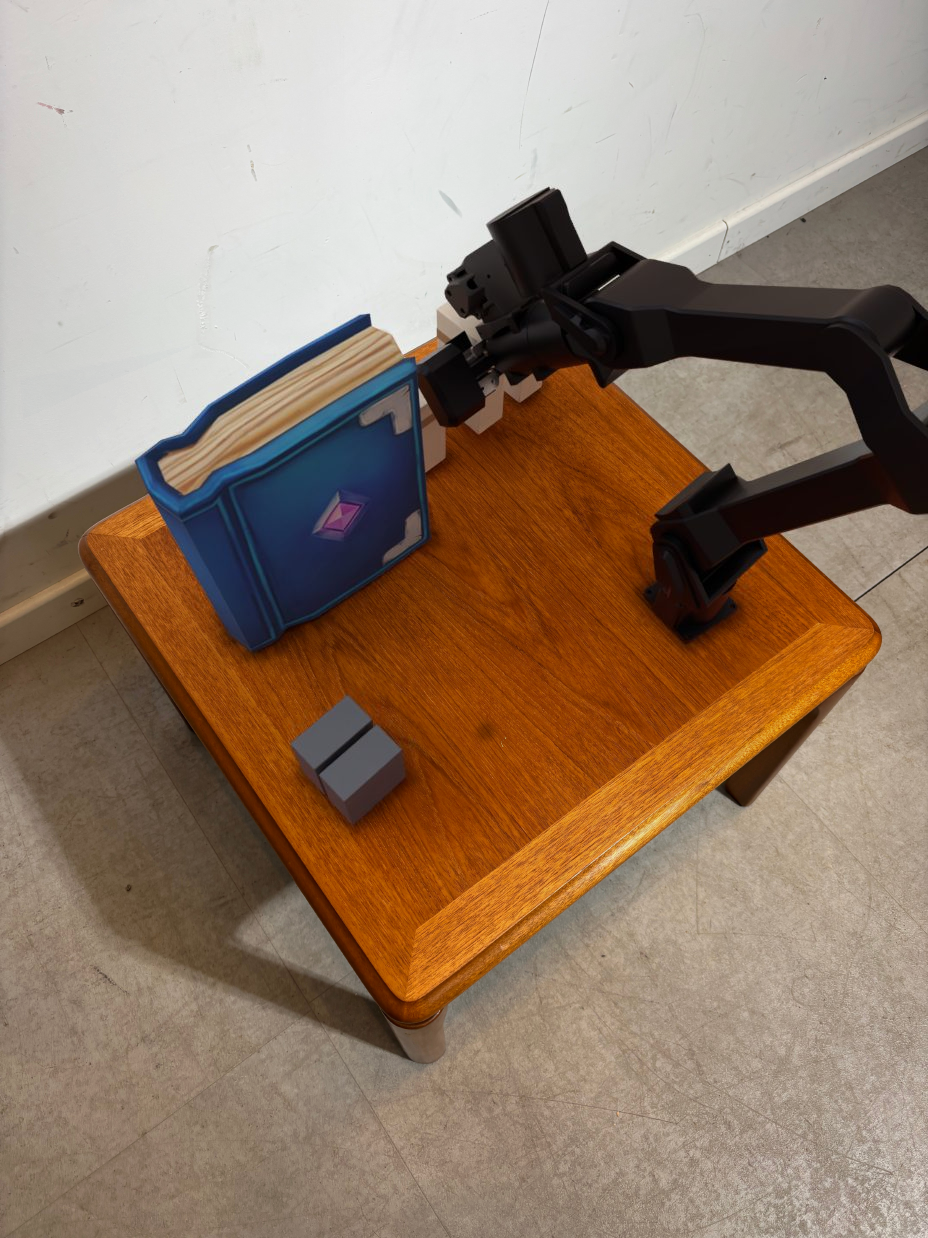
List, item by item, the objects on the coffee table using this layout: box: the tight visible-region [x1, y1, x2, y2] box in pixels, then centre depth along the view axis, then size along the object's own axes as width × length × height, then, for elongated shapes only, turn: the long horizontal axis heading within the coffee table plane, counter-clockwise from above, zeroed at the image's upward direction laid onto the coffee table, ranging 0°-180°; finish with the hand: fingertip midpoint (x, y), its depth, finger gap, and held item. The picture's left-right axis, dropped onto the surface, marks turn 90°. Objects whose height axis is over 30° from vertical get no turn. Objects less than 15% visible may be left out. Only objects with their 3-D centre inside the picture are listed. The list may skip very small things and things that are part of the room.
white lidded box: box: [436, 301, 505, 435], centre depth 87 cm, size 6×3×12 cm, turn 43°
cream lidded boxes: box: [404, 356, 543, 474], centre depth 90 cm, size 6×17×10 cm, turn 133°
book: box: [134, 313, 432, 654], centre depth 74 cm, size 22×7×25 cm, turn 129°
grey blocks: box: [289, 694, 407, 826], centre depth 73 cm, size 6×6×7 cm
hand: (462, 355), depth 87 cm, fingers closed on white lidded box, 3 cm apart
